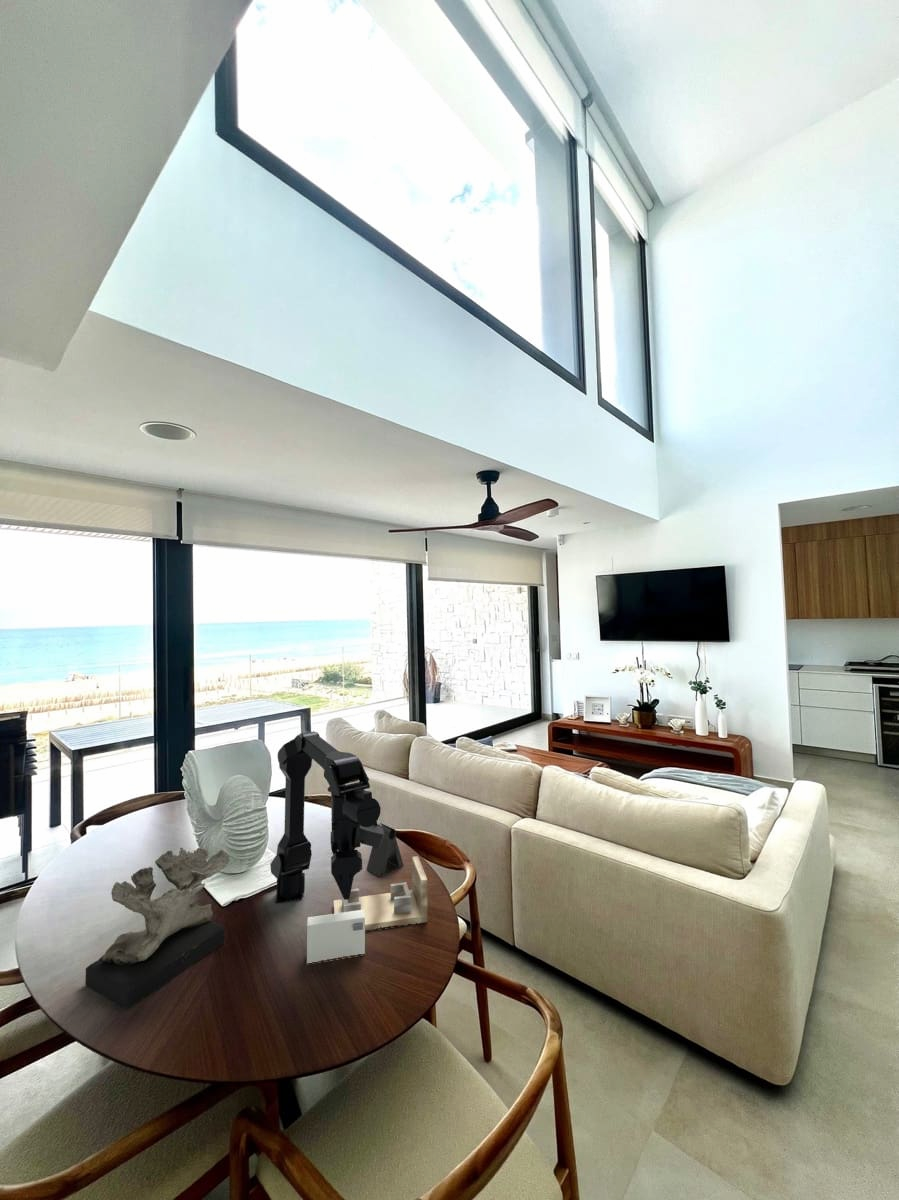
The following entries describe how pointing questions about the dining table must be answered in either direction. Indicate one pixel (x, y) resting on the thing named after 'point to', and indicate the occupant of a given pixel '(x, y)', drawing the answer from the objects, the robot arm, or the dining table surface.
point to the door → (335, 935)
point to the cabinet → (391, 902)
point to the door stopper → (385, 854)
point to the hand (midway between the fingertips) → (345, 888)
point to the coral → (159, 929)
